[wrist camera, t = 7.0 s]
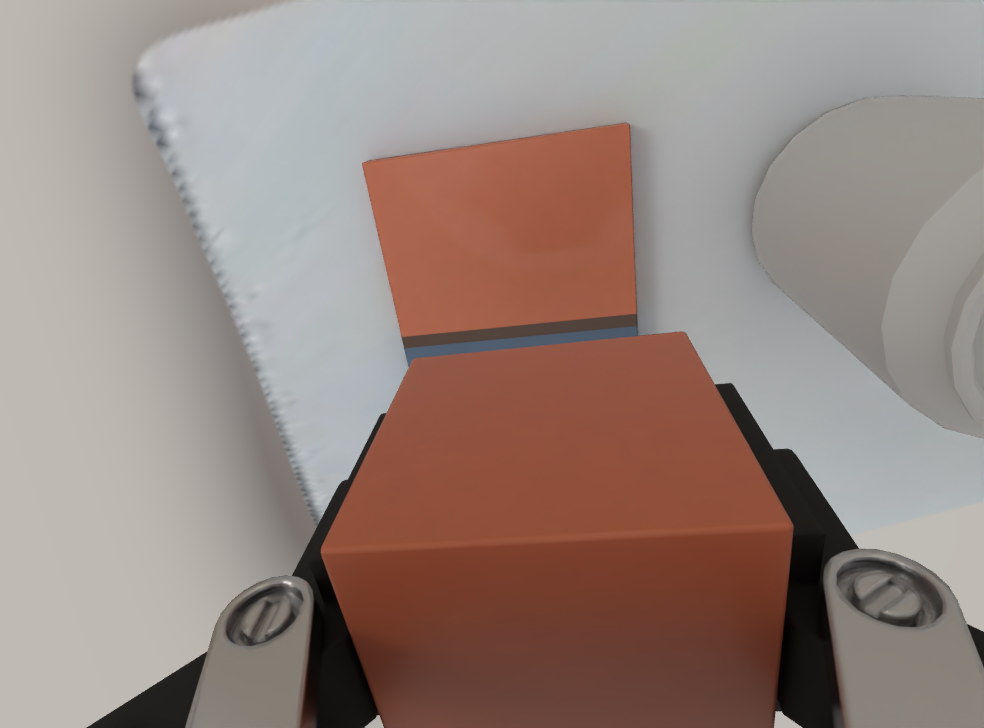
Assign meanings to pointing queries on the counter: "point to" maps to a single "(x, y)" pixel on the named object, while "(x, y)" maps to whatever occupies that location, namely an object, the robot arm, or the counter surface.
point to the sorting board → (509, 242)
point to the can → (889, 243)
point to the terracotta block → (564, 545)
